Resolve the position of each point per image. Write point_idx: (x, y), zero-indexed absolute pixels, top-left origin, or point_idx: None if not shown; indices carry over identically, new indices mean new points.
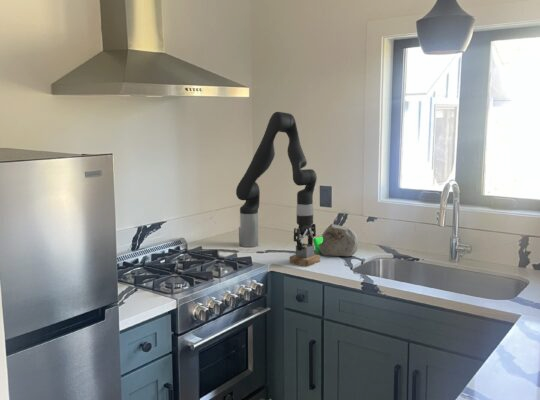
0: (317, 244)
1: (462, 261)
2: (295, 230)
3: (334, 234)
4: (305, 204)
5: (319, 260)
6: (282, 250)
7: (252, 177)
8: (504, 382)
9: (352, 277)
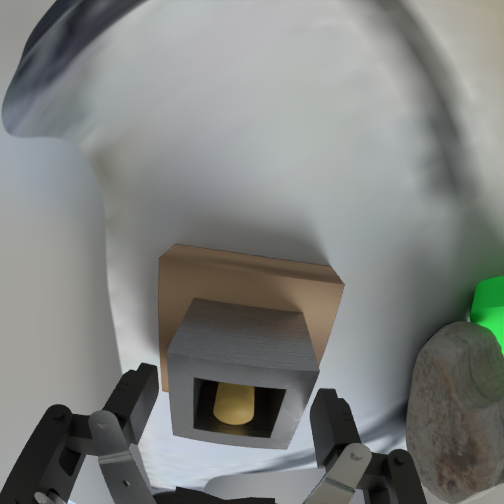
0: (494, 308)
1: None
2: (14, 498)
3: (457, 468)
4: None
5: None
6: (438, 64)
7: None
8: None
9: (166, 477)
